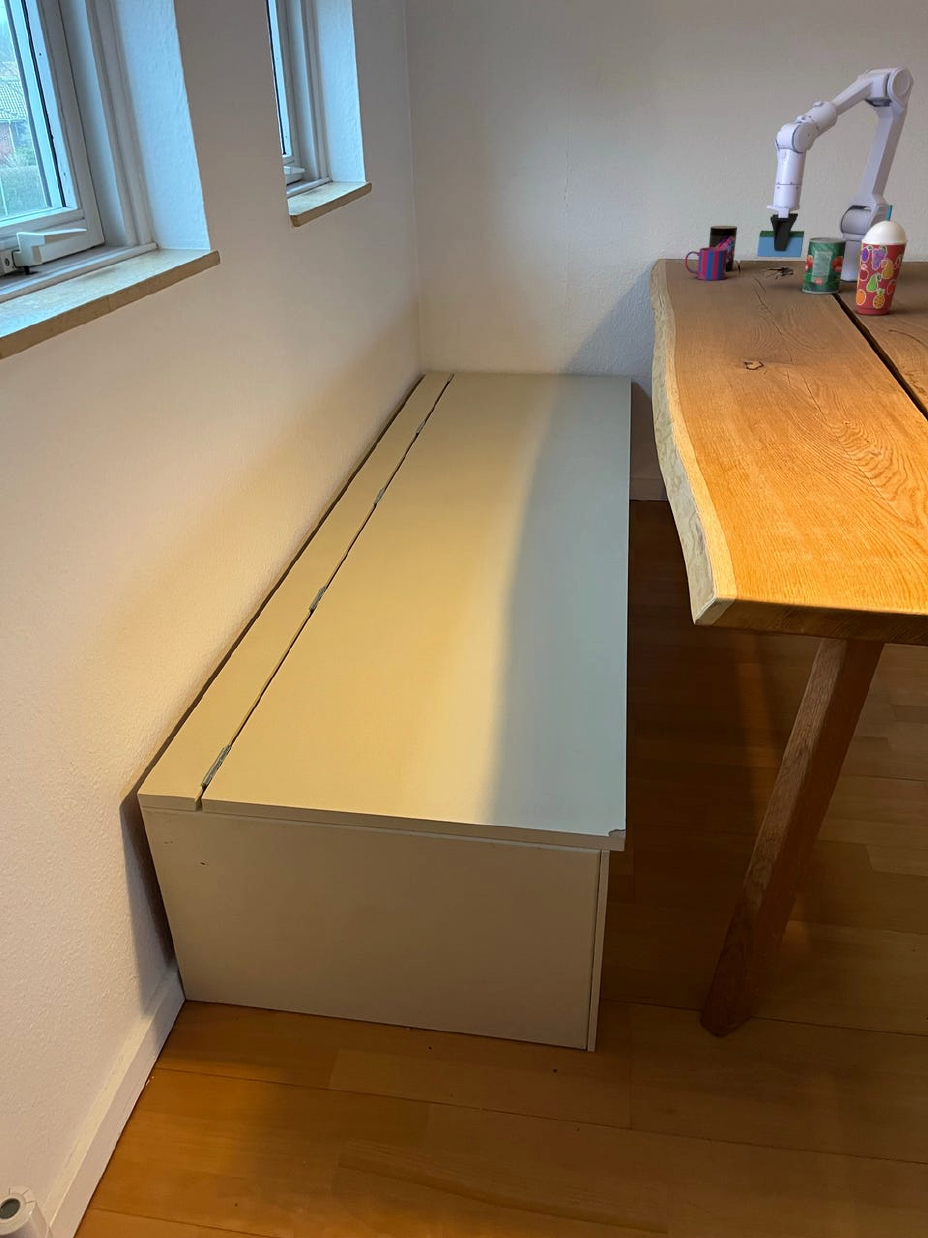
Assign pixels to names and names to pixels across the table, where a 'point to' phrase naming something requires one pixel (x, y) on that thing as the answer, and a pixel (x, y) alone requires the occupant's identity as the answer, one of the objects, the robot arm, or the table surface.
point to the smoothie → (880, 266)
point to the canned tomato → (824, 265)
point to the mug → (710, 263)
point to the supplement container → (724, 241)
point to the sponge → (791, 248)
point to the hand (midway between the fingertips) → (780, 248)
